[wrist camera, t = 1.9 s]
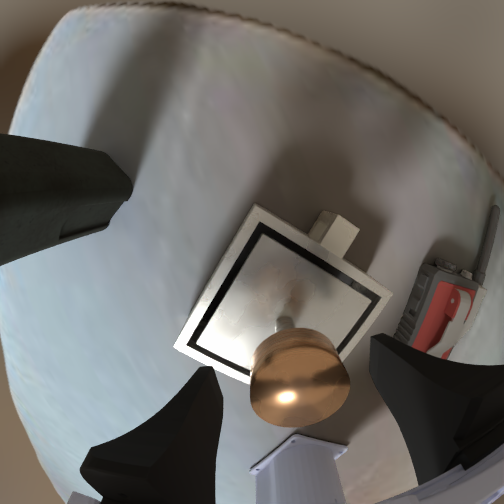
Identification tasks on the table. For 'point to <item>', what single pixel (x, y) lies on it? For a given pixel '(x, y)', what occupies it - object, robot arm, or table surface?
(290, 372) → the square lid with knob
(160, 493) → the robot arm
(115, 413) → the table surface
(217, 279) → the square tray with tab
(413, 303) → the walkie-talkie
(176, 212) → the table surface
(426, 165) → the table surface
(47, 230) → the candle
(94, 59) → the table surface
